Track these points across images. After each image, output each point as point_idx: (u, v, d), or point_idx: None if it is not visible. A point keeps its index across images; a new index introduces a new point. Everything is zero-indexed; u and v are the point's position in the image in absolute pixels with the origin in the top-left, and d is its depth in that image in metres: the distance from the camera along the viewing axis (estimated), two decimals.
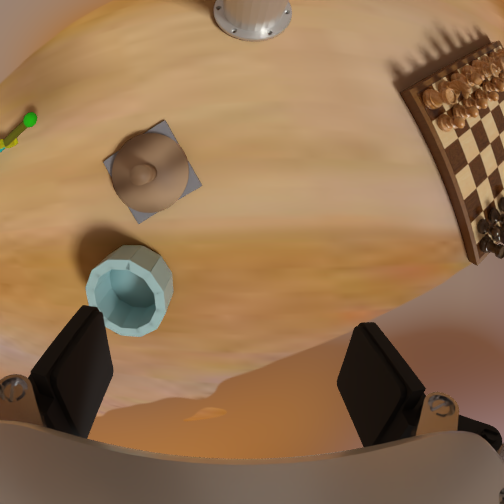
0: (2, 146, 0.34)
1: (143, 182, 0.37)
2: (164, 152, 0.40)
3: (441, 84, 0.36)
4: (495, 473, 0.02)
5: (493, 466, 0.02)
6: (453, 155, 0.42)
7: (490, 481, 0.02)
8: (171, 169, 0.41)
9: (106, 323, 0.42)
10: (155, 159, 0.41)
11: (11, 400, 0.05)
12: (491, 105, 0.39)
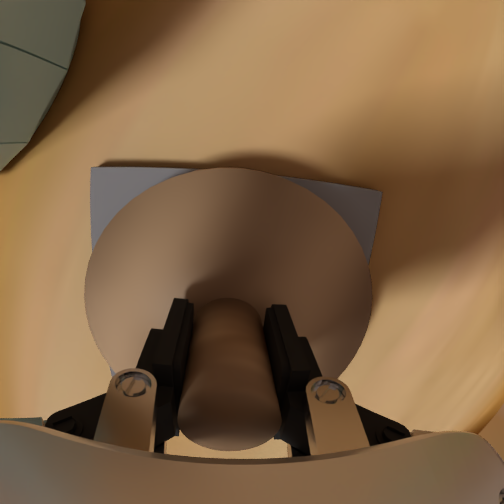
0: None
1: (185, 423, 0.07)
2: None
3: None
4: (495, 473, 0.02)
5: (493, 466, 0.02)
6: None
7: (490, 481, 0.02)
8: None
9: None
10: None
11: (127, 392, 0.06)
12: None
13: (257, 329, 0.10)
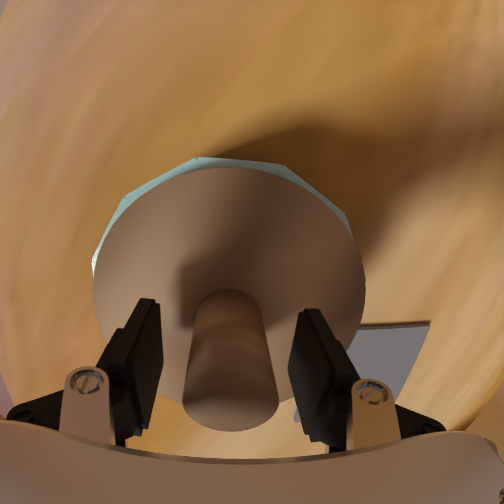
0: None
1: (189, 403, 0.07)
2: None
3: None
4: (495, 473, 0.02)
5: (493, 466, 0.02)
6: None
7: (490, 481, 0.02)
8: None
9: None
10: None
11: (82, 391, 0.06)
12: None
13: (256, 317, 0.11)
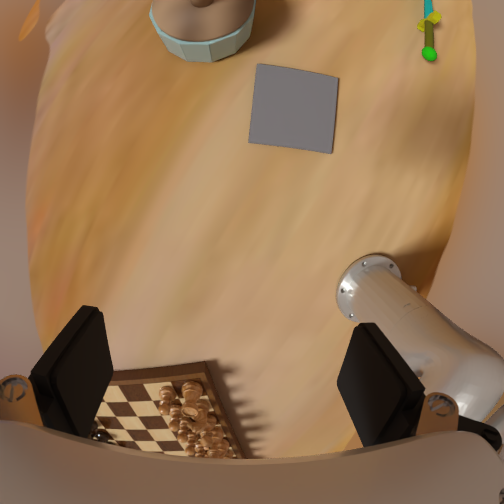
0: (429, 18, 0.29)
1: None
2: (209, 22, 0.25)
3: (205, 404, 0.48)
4: (495, 473, 0.02)
5: (493, 466, 0.02)
6: (136, 390, 0.48)
7: (490, 481, 0.02)
8: (186, 20, 0.25)
9: None
10: (209, 11, 0.25)
11: (11, 400, 0.05)
12: (183, 443, 0.54)
13: None
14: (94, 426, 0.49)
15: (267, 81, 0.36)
